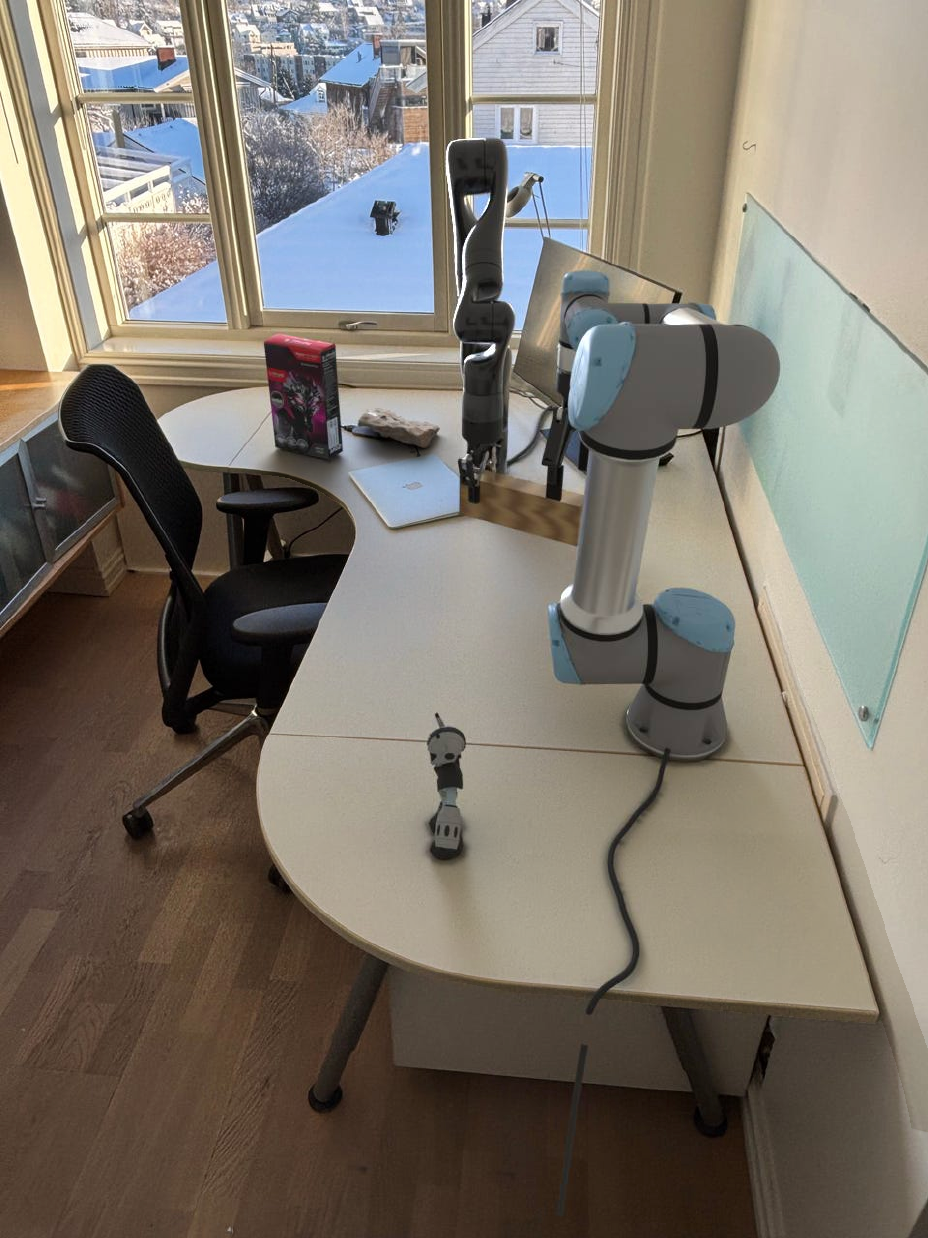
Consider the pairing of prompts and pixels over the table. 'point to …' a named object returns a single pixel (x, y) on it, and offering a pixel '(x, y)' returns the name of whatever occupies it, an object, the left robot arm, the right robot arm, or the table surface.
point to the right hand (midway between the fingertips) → (569, 484)
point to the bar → (525, 507)
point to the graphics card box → (304, 395)
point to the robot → (447, 789)
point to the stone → (398, 427)
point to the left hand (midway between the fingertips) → (480, 496)
